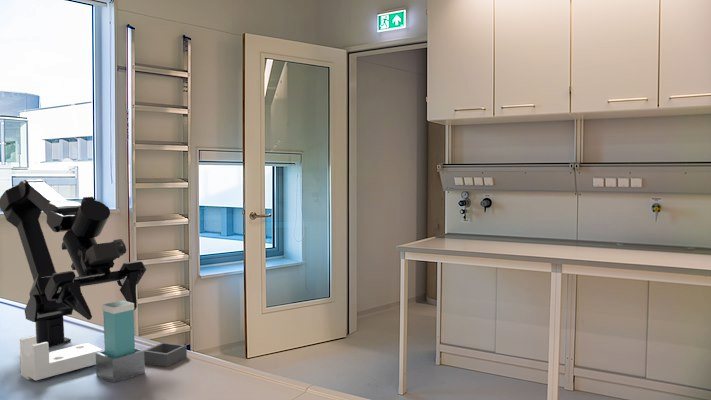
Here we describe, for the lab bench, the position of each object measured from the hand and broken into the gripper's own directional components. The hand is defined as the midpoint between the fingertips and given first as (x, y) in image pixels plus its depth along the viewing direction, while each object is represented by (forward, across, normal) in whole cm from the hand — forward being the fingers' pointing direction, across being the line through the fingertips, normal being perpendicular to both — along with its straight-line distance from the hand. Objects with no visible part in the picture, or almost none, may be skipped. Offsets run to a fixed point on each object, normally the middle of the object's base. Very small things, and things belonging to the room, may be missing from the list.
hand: (113, 313), depth 112 cm
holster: (+10, +10, +7) cm, 16 cm away
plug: (+9, 0, +6) cm, 11 cm away
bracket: (+2, -6, +15) cm, 17 cm away
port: (+10, 0, +7) cm, 12 cm away
